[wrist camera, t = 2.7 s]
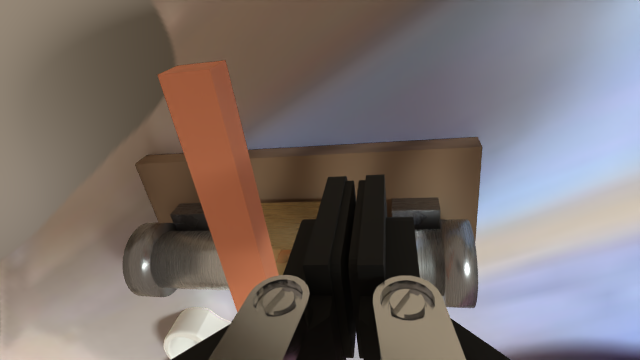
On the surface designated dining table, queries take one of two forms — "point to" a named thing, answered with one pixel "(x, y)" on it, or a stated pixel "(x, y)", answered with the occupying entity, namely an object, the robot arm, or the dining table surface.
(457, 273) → the water pipe
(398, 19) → the dining table surface
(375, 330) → the robot arm
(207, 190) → the lever
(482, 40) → the dining table surface
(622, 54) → the dining table surface
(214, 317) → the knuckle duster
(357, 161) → the valve board
